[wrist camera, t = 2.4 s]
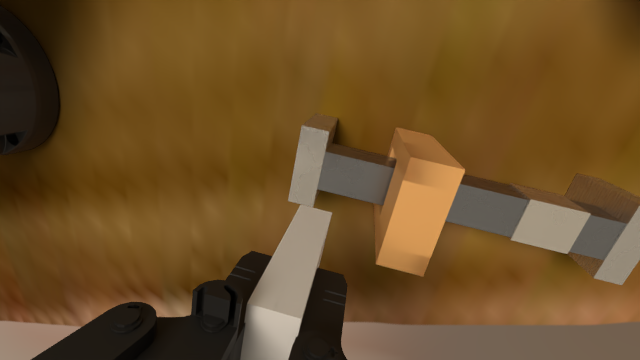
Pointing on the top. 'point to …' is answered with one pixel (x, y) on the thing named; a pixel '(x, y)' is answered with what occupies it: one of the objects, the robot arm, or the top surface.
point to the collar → (415, 202)
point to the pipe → (488, 203)
